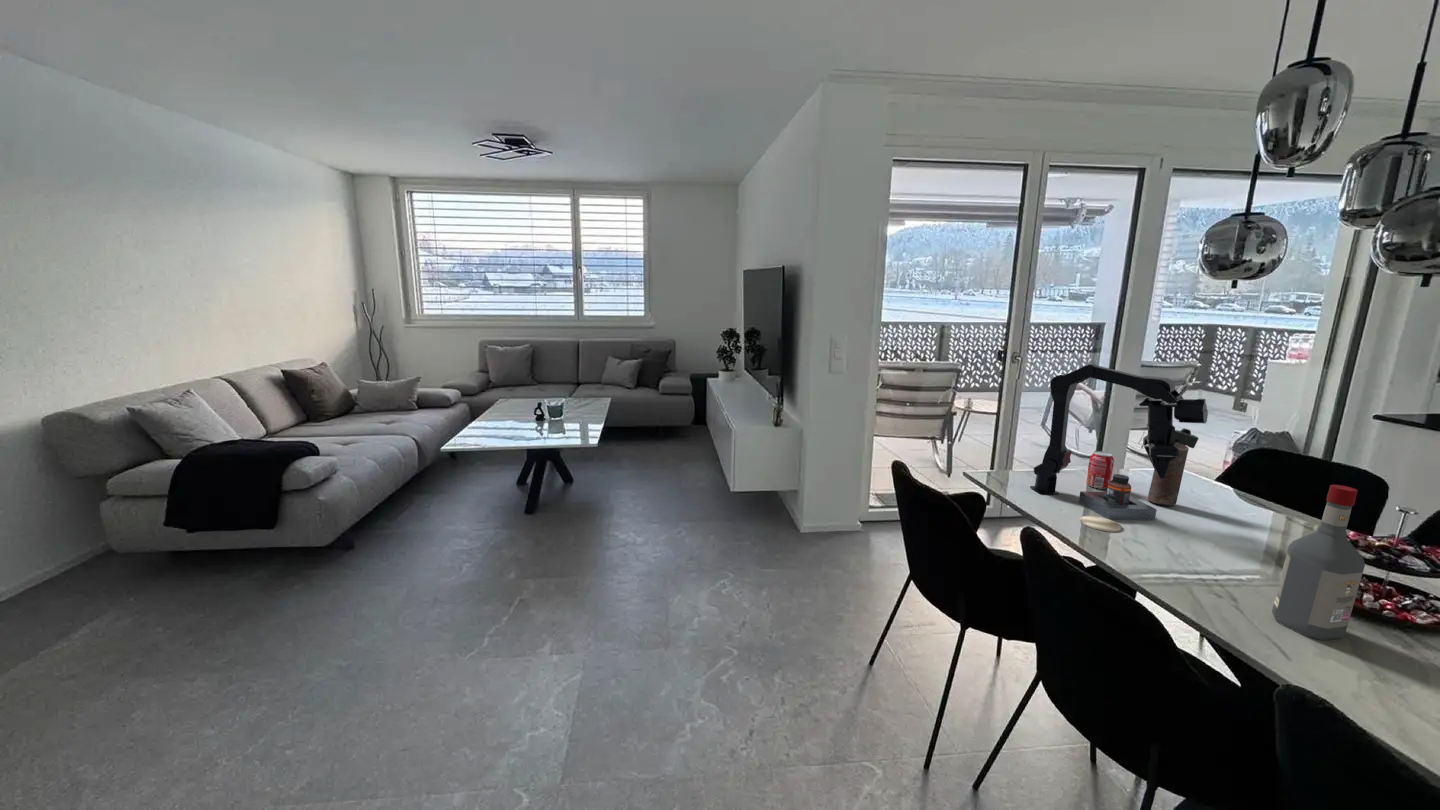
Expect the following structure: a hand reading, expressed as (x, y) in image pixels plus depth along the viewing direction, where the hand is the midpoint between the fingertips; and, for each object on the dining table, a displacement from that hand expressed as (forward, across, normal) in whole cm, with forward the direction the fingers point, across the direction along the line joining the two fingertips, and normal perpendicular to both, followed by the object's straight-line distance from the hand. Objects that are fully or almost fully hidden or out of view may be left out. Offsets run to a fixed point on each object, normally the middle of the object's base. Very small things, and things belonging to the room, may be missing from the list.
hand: (1159, 474), depth 167 cm
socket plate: (+13, +3, +10) cm, 17 cm away
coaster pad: (+13, -12, +15) cm, 23 cm away
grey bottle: (+20, -50, -18) cm, 57 cm away
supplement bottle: (+13, +3, +10) cm, 17 cm away
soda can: (+11, +27, +14) cm, 32 cm away
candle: (+14, +20, -3) cm, 24 cm away
